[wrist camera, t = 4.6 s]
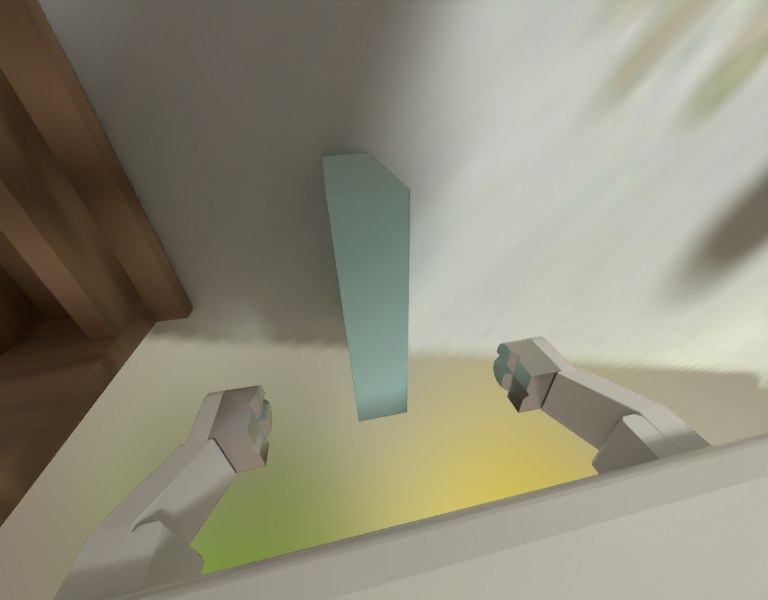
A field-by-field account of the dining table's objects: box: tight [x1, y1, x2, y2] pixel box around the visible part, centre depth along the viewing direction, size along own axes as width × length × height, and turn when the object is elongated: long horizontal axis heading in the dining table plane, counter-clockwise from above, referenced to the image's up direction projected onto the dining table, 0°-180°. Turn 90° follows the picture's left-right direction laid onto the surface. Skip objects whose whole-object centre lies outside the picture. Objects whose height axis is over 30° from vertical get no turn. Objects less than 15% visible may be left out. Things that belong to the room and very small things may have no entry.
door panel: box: [322, 153, 410, 421], centre depth 15 cm, size 11×2×9 cm, turn 2°
